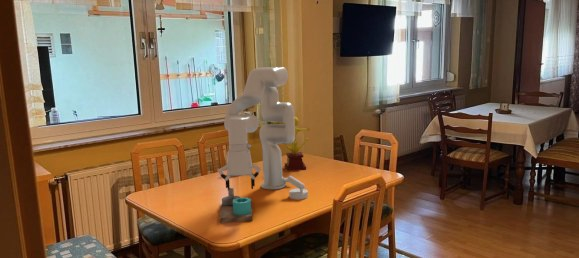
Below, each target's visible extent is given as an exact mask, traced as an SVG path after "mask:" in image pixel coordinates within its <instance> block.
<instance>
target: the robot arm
mask: <svg viewBox="0 0 579 258" xmlns="http://www.w3.org/2000/svg"><path fill="white" fill-rule="evenodd" d="M288 80H289V72H288V70H287V68H286V67H283V66H269V67H268V66H266V67H256V68H254V69H252V70H250V72H249V73H248V77H247V79H246V83H245V86H244V88H243V92H242V94H240V95H239V96H238V97H236V98H235V99H234V100H233V101H232V102H231V103H230V104H229V106H228V107H227V111H226V113H225V116H224V119H223V120H224V124H223V125H224V126H223V127H224V128H225V130H226V131H227V132H228V149H229V150H227V153H226V165H224V166H222V167H220V168H219V169H218V171H217V172H218V173H219V175H220V177H221V178H222V179H223V180H224V181H225V188H226V189H227V191H228V190H230V188H231V184H230V178H231V177H239V176H241V177H242V176H249V177H250V187H251V189H252V190H254V187H256V186H255V185H256V184H255V180H256V178H257V177H258V176H259V174H260V172H261V170H263V171H262V172H263V182H261V183H260V187H261V189H264V190H270V191H271V190H273V191H274V190H280V189H283V188H286V186H287V183H289V182H288V181H287V178H288V177H284V176H283V158H282V155H283V154H282V149H281V148H280V146H279V145H284V144H286V145H288V144H291V145H292V143H293V142H294V139H295V128H296V126H295V117H296V116H295V115H296V114H295V108H294V106H293V104H292V103H291V102H285V101H283V102H280V100H279V99H280V97H279V91H278V89H277V88H278V87H282V86H285V85H286V84H287V82H288ZM260 103H261V117H262V120H263V121H265V122H270V123H269V124H263V125H261V127H260V129H259V139H260V142H261V150H262V151H261V152H262V169H261V167H260V166H258V165H256V164H253V162H252V154H251V150H250V148H252V144H251V143H249V142H248V134H250V133H252V134H253V133H254V132H256V131H257V130H258V128H259V126H260V121H259V118H258V116H256V115H254V114H245V113H244V114H243V113H242V114H239V113H241V112H242V111H245V110H247V109H249V108H251V107H254V106H257V105H259V104H260ZM272 122H273V123H272ZM275 122H277V123H282V124H277V123H276V124H274V123H275ZM253 169H255V170H256V171H255V173H253ZM225 170H226V174H224V171H225Z"/></svg>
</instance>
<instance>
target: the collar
mask: <svg viewBox="0 0 579 258" xmlns="http://www.w3.org/2000/svg"><path fill="white" fill-rule="evenodd" d="M250 198H251V197H247V196H246V197H244V196H243V197H241V198H236V199H234V200H233V213H234V214H236V215H247V214H249V213H251V202H252V199H251V200H250Z"/></svg>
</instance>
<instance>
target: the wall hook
mask: <svg viewBox="0 0 579 258" xmlns="http://www.w3.org/2000/svg"><path fill="white" fill-rule="evenodd" d="M286 178H287V181H288V182H287V183H289V184H291V185H292V186H294V187H296V188H292V189H290V190H289V192H288V193H289V198H290V199H292V200H305V199H308V197H309V194H308V193H309V191H308V190H307V189H305V188H306V185H305V183H304V182H302V181H300V180H298V179H297V178H296V177H294V176H292V175H289V176H288V177H286Z"/></svg>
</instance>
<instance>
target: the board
mask: <svg viewBox="0 0 579 258" xmlns="http://www.w3.org/2000/svg"><path fill="white" fill-rule="evenodd" d="M227 193H228V195H227V196H224V197H222V198H221V206H220V214H219V223H220V224H224V223H239V222H250V221H251V222H252V221H254V220H253V207H252V205H253V204H252V197H249V198H250V200H251V213H249V214H247V215H236V214H234V213H233V200H234V199H236V198H242V197H241V196H239V195H235V191H234V188H233V187H230V190H228V189H227Z"/></svg>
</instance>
